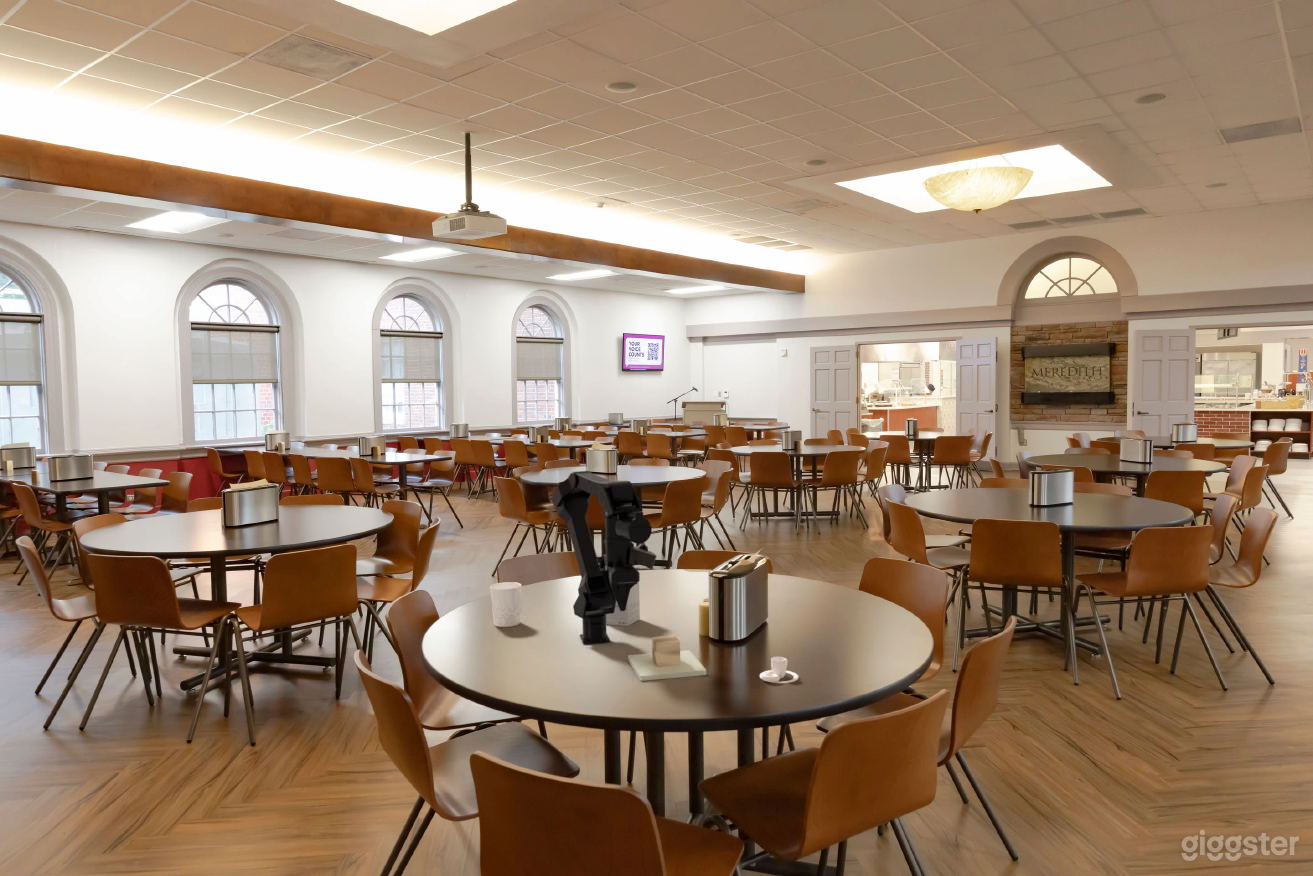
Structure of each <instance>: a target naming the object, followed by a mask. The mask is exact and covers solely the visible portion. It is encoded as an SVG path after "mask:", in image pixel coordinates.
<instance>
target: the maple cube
mask: <svg viewBox="0 0 1313 876" xmlns="http://www.w3.org/2000/svg"><path fill="white" fill-rule="evenodd" d="M651 643H652V644H651V647H652V649H651V650H652V652H651V653H652V660H653V661H654V663H655V664H656V666H657V667H665V666H677V665H680V651H681V641H680V640H679V639H678V637H676V635H663V636H661V635H660V636H652V637H651Z"/></svg>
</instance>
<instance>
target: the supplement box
mask: <svg viewBox="0 0 1313 876" xmlns="http://www.w3.org/2000/svg"><path fill="white" fill-rule="evenodd" d="M640 607H641V606H640V581H639V582H638V583H637V584H636V585H634V586H633V587H632V588H631V589H630V593H629V597H628V601H627V605H626V609H625V611H620V609H619V606H618V604H617V601H616V605H615V610H614V613H613V614H606V625H612V626H622V627H629V626H630V625H633V623H636V622H637V621H639V620H640V619H641V617H640V616H641V613H640V612H641V611H640V609H641V608H640Z"/></svg>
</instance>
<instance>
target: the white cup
mask: <svg viewBox="0 0 1313 876" xmlns="http://www.w3.org/2000/svg"><path fill="white" fill-rule="evenodd" d="M490 600H491V609H492V610H491V613H492V618H493V622H492V623H493V625H494V626H495V627H498V628H509V627H515V626H518V625H520V623H521V613H522V583H520V582H514V581H512V582H511V581H505V582H504V581H503V582H497V583H494V584H491V585H490Z"/></svg>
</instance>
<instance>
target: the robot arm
mask: <svg viewBox="0 0 1313 876" xmlns="http://www.w3.org/2000/svg"><path fill="white" fill-rule="evenodd" d="M592 496H594V497H596V498H598V500H597V501H598V503H599V504H600V505H601V506H602V507H603V510H602V511H601V515H602V516H604V530H605V531H604V532H605V534H604V535H605V539H604V540H603V546H605V548H604V549H605V554H601V555H600V557H599V558H598V556H597V553H596V549H595V546H594V541H593V539H592V535H591V531H590V527H589V524H588V521H587V513H588V510H589V506H590V505H589V504H590V503H589V501H590V499H591V498H592ZM551 500H552V504H553V507H555V508H554V509H555V511H556V514H557V516H558V517H559V518H560V519H561V520H562V521H563V522H565V523H566V525H567V529H568V532H569V537H570V539H571V543H572V548H573V551H574V555H575V559H576V562H577V565H578V570H579V573H580V576H581V578H580V579H581V580H580V582H579V585H578V588H577V592H578V597H577V598H576V600H575V602H574V604H573V605H572V608H573V613H574V615H575V616H576V617H578V618H580V619H582V620H581V621H582V633H581V634H579V638H580V640H581V642H582V644H585V645H586V644H597V643H598V644H599V643H609V642H611V639H610V637H609V635H608V632H607V624H606V614H613V613H614V610H615V605H616V601H617V604H618V606H619V609H620V611H625V609H626V605H627V601H628V597H629V593H630V589H631V588H632V587H633V586H634V585H636V584H637V583H638V582H639V583H640V581H641V578H640V571H638V569H637V568H636V567H635V564H638V565H640V566H643V567H646V568H647V569H650V570H652V569H653V568H654V565H655V562H656V559H657V555H656V553H654V552H652V551H650V550H649V548H648V546H647V544H644V543H646V542H647V541H648V540H649V539H650V537H651V535H652V532H653V531H652V525H651V523H650V521H649V520H648V519H647V518H645V517H644V512H643V508H642V502H641V500H640V498H639V497H638V494H637V491H636V488H635V487H634V485H633V483H632V482H631V481H629V480H610V479H607V478H605V477H601V476H599V475H597V474H594V473H592V471H589V470H581V471H580V470H578V471H573V472H571V473H569V475H568V477H567V478H566V479H565V480H563V481H562V482H560V483H558V485H557V486H556V488H555V490H554V492H553V494H552V497H551ZM635 544H638V545H637V546H635Z"/></svg>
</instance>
